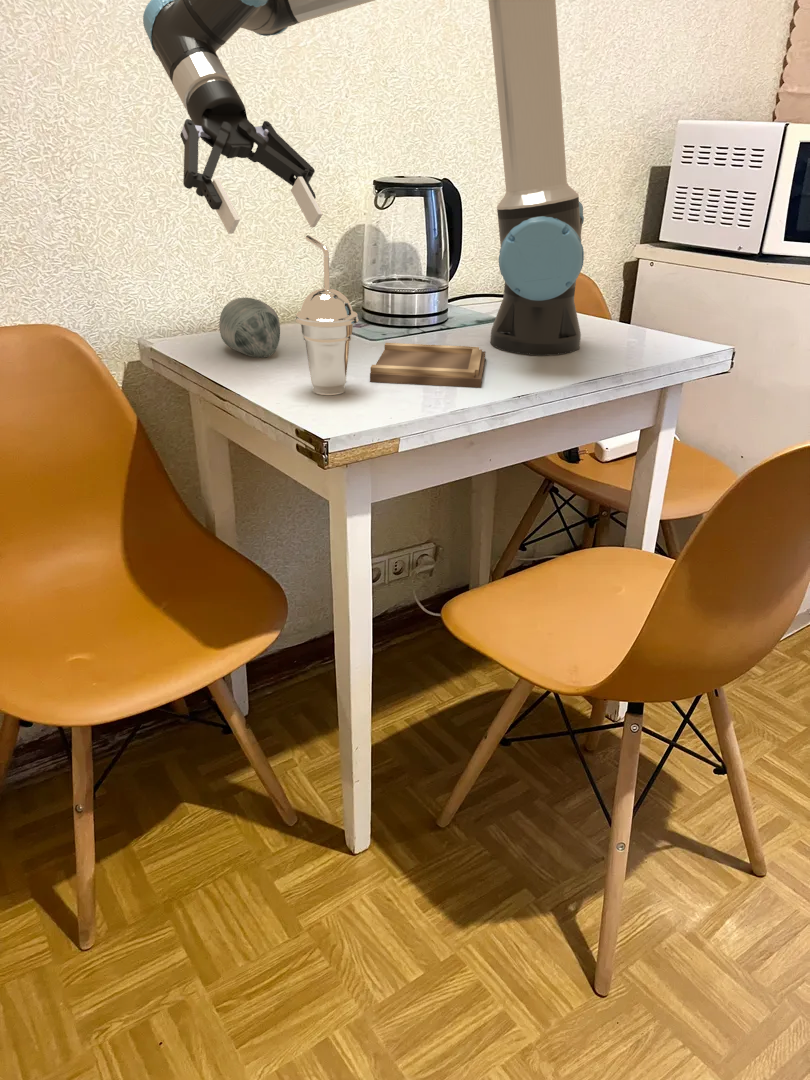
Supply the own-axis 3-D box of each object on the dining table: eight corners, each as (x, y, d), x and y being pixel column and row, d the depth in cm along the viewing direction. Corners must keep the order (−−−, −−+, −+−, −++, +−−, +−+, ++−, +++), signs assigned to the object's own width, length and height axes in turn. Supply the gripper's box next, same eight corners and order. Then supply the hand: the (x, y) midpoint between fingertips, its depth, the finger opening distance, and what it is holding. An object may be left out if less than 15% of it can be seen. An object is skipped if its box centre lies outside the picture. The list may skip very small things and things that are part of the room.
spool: (299, 338, 128) (263, 280, 124) (247, 371, 126) (210, 313, 123) (285, 340, 140) (252, 287, 137) (238, 369, 139) (204, 317, 136)
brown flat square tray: (485, 359, 131) (485, 346, 130) (480, 387, 117) (481, 373, 116) (386, 354, 133) (386, 341, 132) (370, 381, 119) (369, 368, 118)
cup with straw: (297, 400, 110) (290, 244, 101) (298, 381, 118) (292, 234, 109) (360, 399, 111) (359, 244, 102) (357, 380, 119) (356, 235, 110)
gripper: (274, 121, 125) (336, 235, 123) (120, 118, 110) (187, 248, 107) (293, 81, 120) (359, 200, 117) (133, 72, 104) (204, 208, 101)
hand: (277, 223), depth 112 cm, fingers open, 13 cm apart
